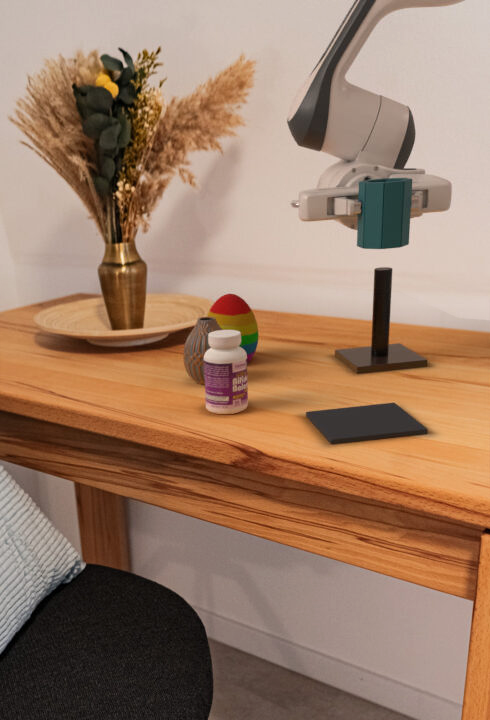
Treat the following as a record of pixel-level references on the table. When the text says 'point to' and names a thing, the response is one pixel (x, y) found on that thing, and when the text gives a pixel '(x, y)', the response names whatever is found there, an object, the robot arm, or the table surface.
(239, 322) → the decorative egg
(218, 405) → the pill bottle
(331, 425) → the felt pad
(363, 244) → the teal octagonal cup
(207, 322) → the vase
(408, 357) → the post
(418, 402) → the table surface
